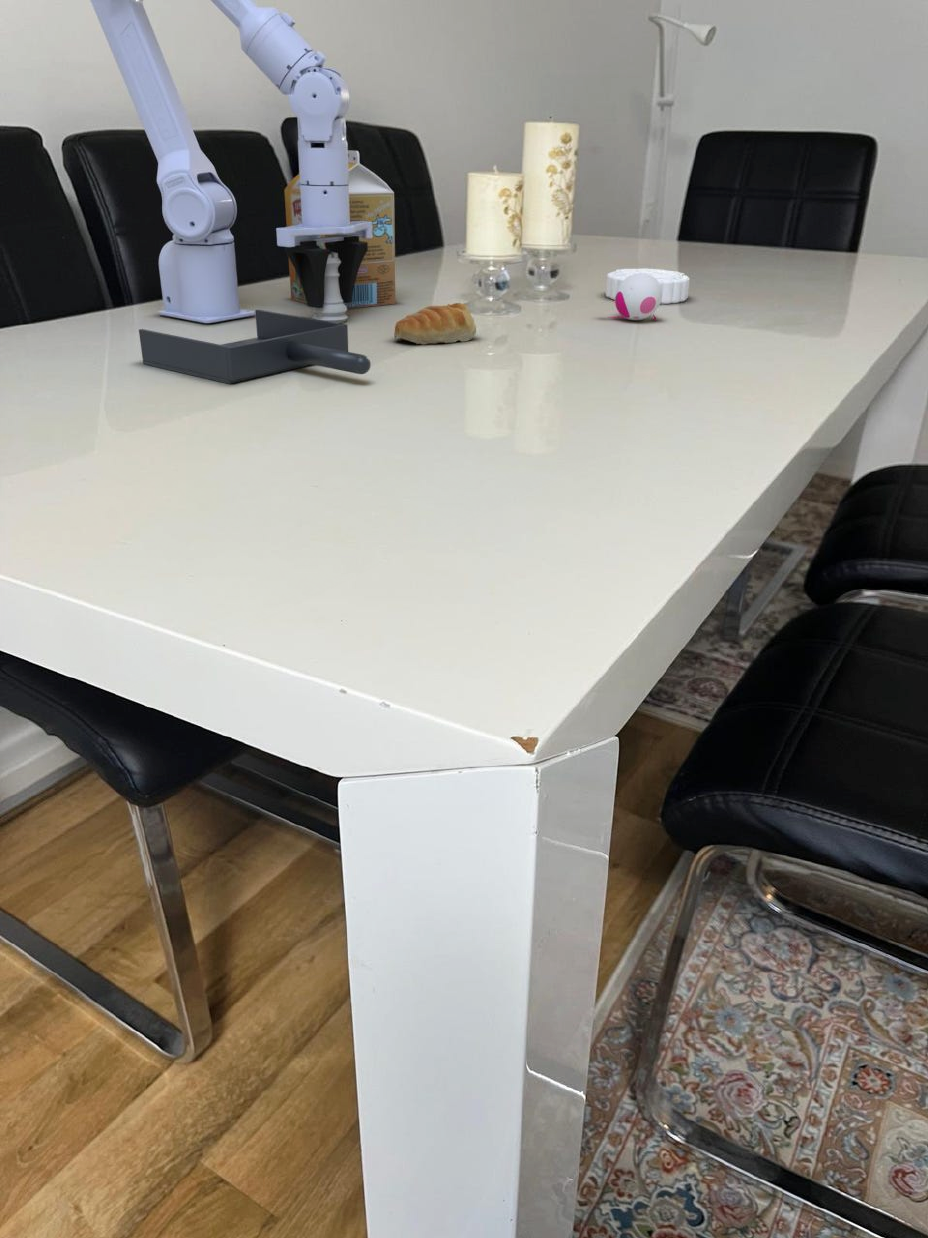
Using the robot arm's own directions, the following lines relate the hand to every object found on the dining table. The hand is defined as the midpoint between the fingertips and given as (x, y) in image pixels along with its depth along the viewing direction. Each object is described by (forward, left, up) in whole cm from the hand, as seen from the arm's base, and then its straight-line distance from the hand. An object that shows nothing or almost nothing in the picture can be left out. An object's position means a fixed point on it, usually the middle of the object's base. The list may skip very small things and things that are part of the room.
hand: (329, 304), depth 120 cm
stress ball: (+28, +27, -2) cm, 39 cm away
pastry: (+17, 0, -2) cm, 17 cm away
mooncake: (+21, +45, -2) cm, 50 cm away
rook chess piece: (0, 0, -2) cm, 2 cm away
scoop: (+14, -22, -2) cm, 26 cm away
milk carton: (-9, +12, -2) cm, 15 cm away
